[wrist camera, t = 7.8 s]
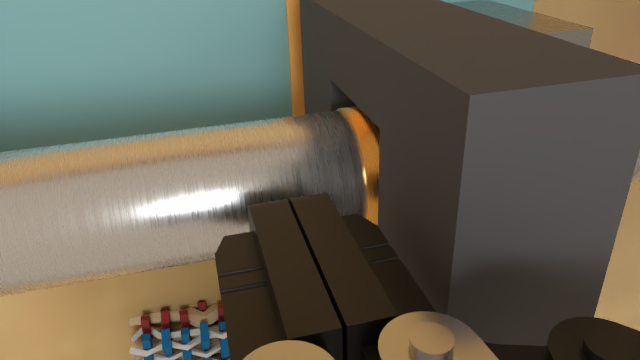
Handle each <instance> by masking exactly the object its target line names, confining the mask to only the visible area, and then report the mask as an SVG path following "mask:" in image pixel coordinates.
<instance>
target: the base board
mask: <svg viewBox="0 0 640 360" xmlns="http://www.w3.org/2000/svg"><path fill="white" fill-rule="evenodd" d="M441 1H444V2H447V3H451V2H463V1H475V0H441ZM491 1H495V2H498V3H502V4H506V5H509V6H513V7H517V8H520V9H524V10H527V11H531V12H533V7H534V0H491ZM298 115H305V105H304V84H303V64H302V43H301V22H300V2H299V0H0V152H7V151H15V150H23V149H31V148H39V147H47V146H55V145H63V144H71V143H79V142H87V141H95V140H104V139H112V138H120V137H128V136H136V135H144V134H152V133H160V132H168V131H176V130H184V129H192V128H201V127H209V126H217V125H225V124H233V123H241V122H249V121H257V120H265V119H273V118H281V117H289V116H298Z"/></svg>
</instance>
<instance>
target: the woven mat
mask: <svg viewBox="0 0 640 360" xmlns="http://www.w3.org/2000/svg"><path fill="white" fill-rule="evenodd" d="M198 309H199V310H197V309H195V308H192V307H191V308H186V309H181V310H173V311H169V310H161V312H158V313H150V314H146V315H142V316H138V317H134V318H130V319H129V326H132V325H141V326H142V327H141V328H140V329H139V330H138V331H137V332H136V333H135V334H134V335H133V336H132V337H131V347H130V352H129V353H130V354H134V355H138V356H135V360H230V357H229V354H230V353H229V346H228V340H227V333H226V326H225V320H224V313H223V306H222V304H213V305H211V306H209V307H208V308H207V309H206V302H199V303H198ZM217 320H218V324H212V323H214V322H215V321H217ZM176 321H180V324H181V329H178V330H172V331H171V324H170V322H176ZM154 323H161V324H162V329H161V332H159V331H158V330H156V329H155V328H153V327H152V326H151V324H154ZM189 324H190V325H192V326H195V327H192V328H190V327H189ZM210 324H212V325H210ZM140 336H141V337H140ZM216 337H218V338H219V340H220V342H214V343H210V339H212V338H216ZM194 338H195V339H194ZM191 339H193V340H192V341H191ZM175 341H182V343H180V342H175ZM200 342H201V344H199V343H200ZM197 344H199V345H197ZM196 345H197V346H196ZM194 346H195V347H194ZM193 347H194V348H193ZM162 349H163V351H160V350H162ZM215 353H220V356H221V359H216V358H212V357H211V355H212V354H215Z"/></svg>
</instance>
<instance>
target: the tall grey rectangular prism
mask: <svg viewBox="0 0 640 360" xmlns="http://www.w3.org/2000/svg"><path fill="white" fill-rule="evenodd" d="M299 2H300V22H301V43H302V64H303V84H304V105H305V115H306V114H314V113H322V112H330V111H336V110H337V109H339V108H345V107H353V106H358V107H359V108H360V109H361V110H362V112H363V113H364V114H365V115H366V116H367V117H368V118H369V119H370V120H371V121H372V122H373V123H374V124H375V125H376V126H377V127H378V128H379V129H380V146H379V191H378V227H379V229H380V230H381V232H382V233H383V234H384V236H385V237H386V239H387V240H388V242H389V246H392V248H393V249H394V251H395V252H396V254H397V255H398V258H399V260H401V261H402V262H403V264H404V265H405V267H406V268H407V270H408V271H409V273H410V274H411V276H412V277H413V278H414V280H415V281H416V283H417V284H418V286H419V287H420V289H421V290H422V292H423V293H424V295H425V296H426V298H427V299H428V300H429V302H430V303H431V305H432V306H433V308H434V309H435V311H436V312H437V313H442V314H445V315H449V316H451V317H454V318H456V319H458V320H460V321H461V322H463V323H465V324H466V325H467V326H469V327H470V328H471V329H472V330H473V331H474V332H475V333H476V334H477V335H478V336H479V337H480V338H481V340H482V341H483V342H488V343H493V344H506V345H531V346H546V345H547V340H548V337H549V334H550V331H551V330H552V328H553V327H554V326H555V325H557V324H558V323H560V322H562V321H564V320H566V319H570V318H575V317H593V318H594V314H595V311H596V307H597V304H598V300H599V296H600V293H601V289H602V285H603V282H604V278H605V275H606V271H607V267H608V264H609V260H610V256H611V253H612V249H613V246H614V242H615V238H616V235H617V231H618V227H619V224H620V220H621V217H622V213H623V209H624V206H625V202H626V198H627V195H628V191H629V188H630V184H631V180H632V177H633V173H634V169H635V166H636V162H637V159H638V155H639V151H640V65H639V64H636V63H633V62H630V61H627V60H624V59H621V58H618V57H615V56H611V55H608V54H605V53H602V52H599V51H596V50H593V49H590V48H587V47H584V46H580V45H577V44H574V43H571V42H568V41H565V40H562V39H559V38H556V37H553V36H549V35H546V34H543V33H540V32H537V31H534V30H531V29H528V28H525V27H521V26H518V25H515V24H512V23H509V22H506V21H503V20H500V19H497V18H494V17H490V16H487V15H484V14H481V13H478V12H475V11H472V10H469V9H466V8H463V7H459V6H456V5H453V4H450V3H447V2H444V1H441V0H299Z"/></svg>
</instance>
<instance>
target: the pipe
mask: <svg viewBox="0 0 640 360" xmlns="http://www.w3.org/2000/svg"><path fill="white" fill-rule="evenodd" d="M450 4H453V5H456V6H459V7H463V8H466V9H469V10H472V11H475V12H478V13H481V14H484V15H487V16H490V17H494V18H497V19H500V20H503V21H506V22H509V23H512V24H515V25H518V26H521V27H525V28H528V29H531V30H534V31H537V32H540V33H543V34H546V35H549V36H553V37H556V38H559V39H562V40H565V41H568V42H571V43H574V44H577V45H580V46H584V47H587V48H589V46H590V41H591V36H592V32H593V28H590V27H586V26H582V25H579V24H575V23H571V22H568V21H564V20H560V19H557V18H553V17H549V16H546V15H542V14H538V13H535V12H531V11H527V10H524V9H520V8H517V7H513V6H509V5H506V4H502V3H498V2H495V1H491V0H475V1H463V2H451V3H450ZM379 146H380V129H379V128H378V127H377V126H376V125H375V124H374V123H373V122H372V121H371V120H370V119H369V118H368V117H367V116H366V115H365V114H364V113H363V112H362V110H361V109H360V108H359V107H358V106H353V107H345V108H339V109H337V110H336V111H330V112H322V113H314V114H306V115H298V116H289V117H281V118H273V119H265V120H257V121H249V122H241V123H233V124H225V125H217V126H209V127H201V128H192V129H184V130H176V131H168V132H160V133H152V134H144V135H136V136H128V137H120V138H112V139H104V140H95V141H87V142H79V143H71V144H63V145H55V146H47V147H39V148H31V149H23V150H15V151H7V152H0V297H2V296H8V295H14V294H19V293H25V292H31V291H36V290H42V289H47V288H53V287H59V286H64V285H70V284H76V283H81V282H87V281H93V280H98V279H104V278H109V277H115V276H121V275H126V274H132V273H138V272H143V271H149V270H155V269H160V268H166V267H172V266H177V265H183V264H188V263H194V262H200V261H205V260H211V259H215V253H216V251H217V249H218V247H219V245H220V243H221V241H222V239H223V237H224V236H228V235H234V234H240V233H245V232H250V228H249V219H248V205H252V204H258V203H264V202H271V201H277V200H283V199H287V201H288V199H289V198H295V197H301V196H308V195H314V194H320V193H327V194H328V195H329V197H330V198H331V200H332V202H333V203H334V205H335V207H336V209H337V210H338V212H339V214H340V215H341V216H345V215H351V214H356V213H358V214H359V215H361V216H363V217H364V218H366V219H367V220H369V221H371V222H372V223H374V224H376V225H377V226H378V191H379ZM639 180H640V151H639V155H638V159H637V162H636V166H635V169H634V173H633V177H632V180H631V184H634V183H636V182H637V181H639ZM631 184H630V185H631Z"/></svg>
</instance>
